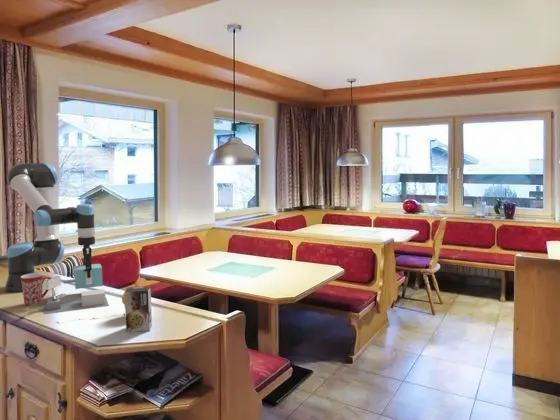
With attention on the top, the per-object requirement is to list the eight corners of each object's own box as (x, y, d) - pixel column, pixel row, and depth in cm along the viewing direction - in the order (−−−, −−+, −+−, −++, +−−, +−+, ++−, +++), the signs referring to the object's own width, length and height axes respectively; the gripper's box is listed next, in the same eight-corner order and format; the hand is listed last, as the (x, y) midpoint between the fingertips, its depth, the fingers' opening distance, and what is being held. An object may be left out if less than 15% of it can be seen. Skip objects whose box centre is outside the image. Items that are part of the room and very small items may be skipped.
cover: (63, 285, 220) (62, 267, 219) (100, 281, 228) (100, 263, 227) (63, 290, 211) (62, 271, 210) (102, 286, 219) (101, 267, 218)
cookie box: (152, 325, 182) (151, 285, 180) (149, 331, 175) (148, 290, 174) (128, 326, 181) (127, 286, 179) (125, 332, 174) (124, 291, 173)
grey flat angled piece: (45, 302, 195) (44, 280, 194) (62, 295, 206) (61, 274, 205) (49, 302, 195) (48, 280, 194) (66, 295, 206) (65, 274, 205)
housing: (44, 306, 204) (43, 293, 204) (105, 299, 216) (105, 286, 215) (43, 317, 191) (43, 302, 190) (109, 308, 202) (108, 295, 202)
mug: (25, 308, 202) (23, 279, 201) (19, 304, 209) (18, 275, 207) (55, 302, 211) (54, 274, 210) (49, 298, 217) (47, 270, 216)
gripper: (76, 233, 227) (78, 277, 229) (78, 240, 207) (81, 288, 209) (93, 232, 230) (94, 275, 232) (96, 239, 210) (98, 286, 212)
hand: (88, 281), depth 220 cm, fingers closed on cover, 10 cm apart
